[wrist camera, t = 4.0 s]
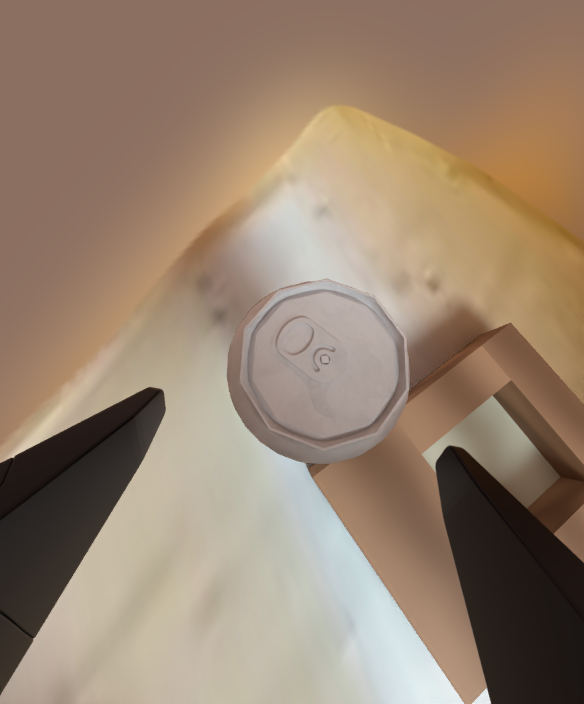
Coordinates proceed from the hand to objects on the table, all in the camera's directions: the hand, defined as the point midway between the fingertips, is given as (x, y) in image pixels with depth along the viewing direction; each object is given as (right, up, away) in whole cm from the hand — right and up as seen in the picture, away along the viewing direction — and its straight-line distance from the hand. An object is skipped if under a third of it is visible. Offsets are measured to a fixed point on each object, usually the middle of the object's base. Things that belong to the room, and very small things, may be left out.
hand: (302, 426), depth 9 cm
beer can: (0, -1, +9) cm, 9 cm away
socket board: (+10, -5, +8) cm, 14 cm away
